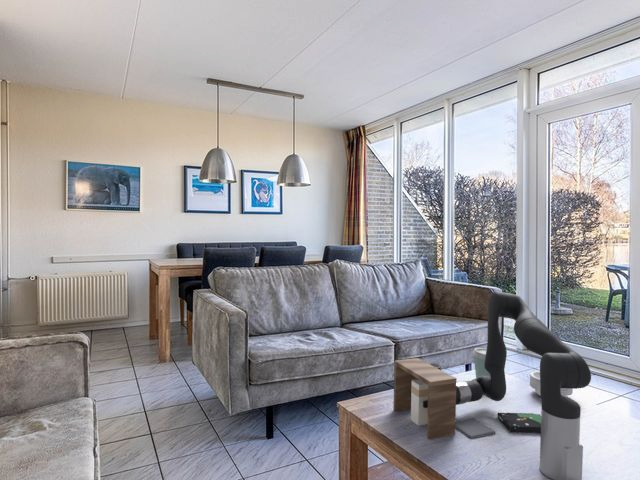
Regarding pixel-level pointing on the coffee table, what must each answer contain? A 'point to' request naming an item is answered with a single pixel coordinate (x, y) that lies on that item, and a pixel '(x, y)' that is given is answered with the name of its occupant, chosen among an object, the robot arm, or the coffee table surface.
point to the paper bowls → (536, 384)
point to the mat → (473, 428)
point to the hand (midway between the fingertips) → (416, 399)
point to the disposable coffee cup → (480, 362)
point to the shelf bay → (438, 394)
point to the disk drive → (521, 422)
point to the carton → (419, 402)
